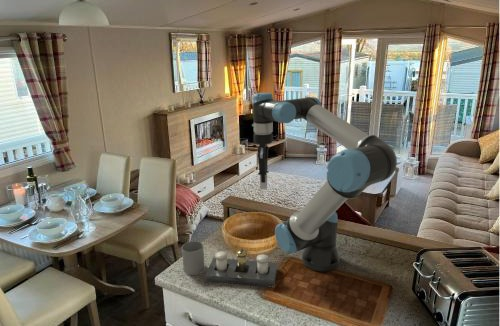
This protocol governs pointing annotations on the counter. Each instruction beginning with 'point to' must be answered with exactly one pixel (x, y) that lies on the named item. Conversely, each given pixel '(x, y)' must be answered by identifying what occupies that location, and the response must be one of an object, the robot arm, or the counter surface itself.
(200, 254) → the cup
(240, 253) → the brass slotted knob
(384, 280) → the counter surface
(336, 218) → the robot arm
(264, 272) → the knob
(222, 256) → the knob
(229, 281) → the panel
